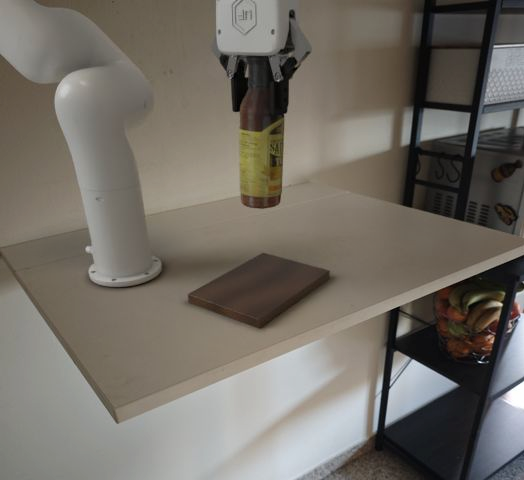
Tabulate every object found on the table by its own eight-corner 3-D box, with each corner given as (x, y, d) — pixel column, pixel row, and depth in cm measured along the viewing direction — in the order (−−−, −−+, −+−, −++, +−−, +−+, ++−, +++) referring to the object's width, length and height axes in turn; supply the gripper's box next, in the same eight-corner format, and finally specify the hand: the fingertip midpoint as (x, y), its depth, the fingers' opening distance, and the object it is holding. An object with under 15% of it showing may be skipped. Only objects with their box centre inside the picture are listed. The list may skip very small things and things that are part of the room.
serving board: (188, 302, 79) (187, 293, 78) (263, 260, 92) (263, 252, 91) (259, 328, 72) (259, 319, 71) (329, 278, 85) (329, 270, 84)
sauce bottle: (277, 212, 71) (281, 51, 60) (235, 208, 73) (231, 50, 61) (285, 198, 77) (290, 48, 65) (246, 195, 78) (244, 46, 67)
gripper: (180, -55, 59) (194, 111, 69) (302, -70, 51) (298, 122, 61) (220, -50, 64) (228, 104, 74) (338, -62, 56) (328, 114, 66)
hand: (259, 111), depth 68 cm, fingers closed on sauce bottle, 5 cm apart
